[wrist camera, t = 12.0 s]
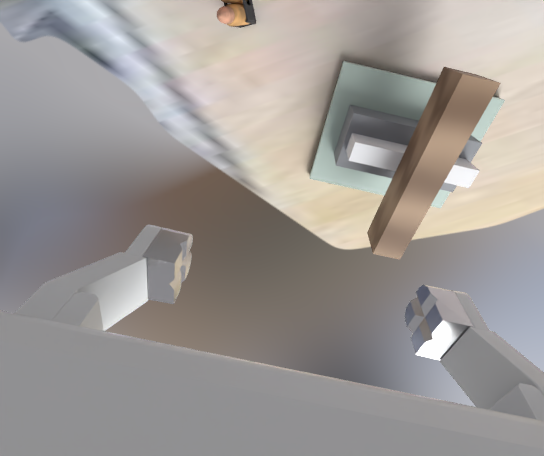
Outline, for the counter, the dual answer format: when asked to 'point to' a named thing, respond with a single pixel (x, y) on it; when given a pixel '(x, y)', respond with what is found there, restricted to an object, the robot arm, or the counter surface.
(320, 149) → the ridge stand
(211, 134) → the counter surface
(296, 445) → the robot arm
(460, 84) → the walnut batten
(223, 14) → the ammunition clip
